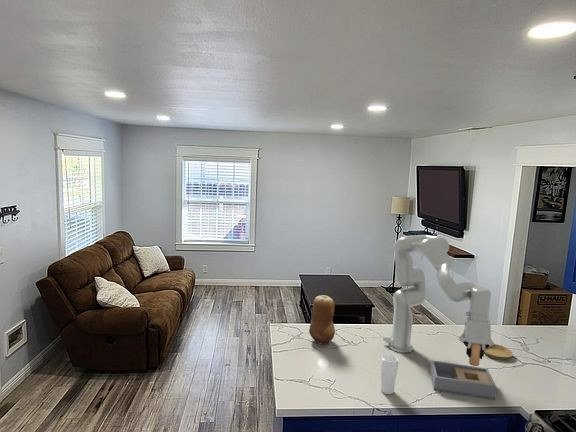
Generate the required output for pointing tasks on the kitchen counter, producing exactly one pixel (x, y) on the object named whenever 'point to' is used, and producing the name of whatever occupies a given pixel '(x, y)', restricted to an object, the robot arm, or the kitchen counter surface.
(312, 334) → the butternut squash
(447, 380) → the box
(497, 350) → the plant saucer
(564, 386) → the kitchen counter surface
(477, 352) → the peg
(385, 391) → the drinking glass
